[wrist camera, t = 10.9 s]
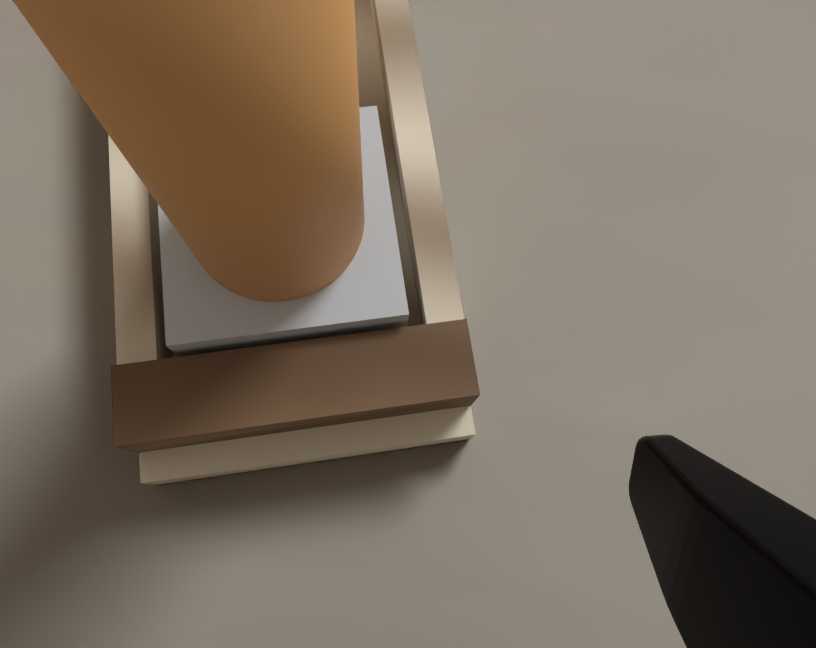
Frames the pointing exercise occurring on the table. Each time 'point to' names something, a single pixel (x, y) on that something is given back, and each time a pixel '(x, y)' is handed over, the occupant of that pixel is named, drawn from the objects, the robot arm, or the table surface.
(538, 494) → the table surface
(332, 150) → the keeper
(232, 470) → the track
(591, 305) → the table surface
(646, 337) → the table surface
